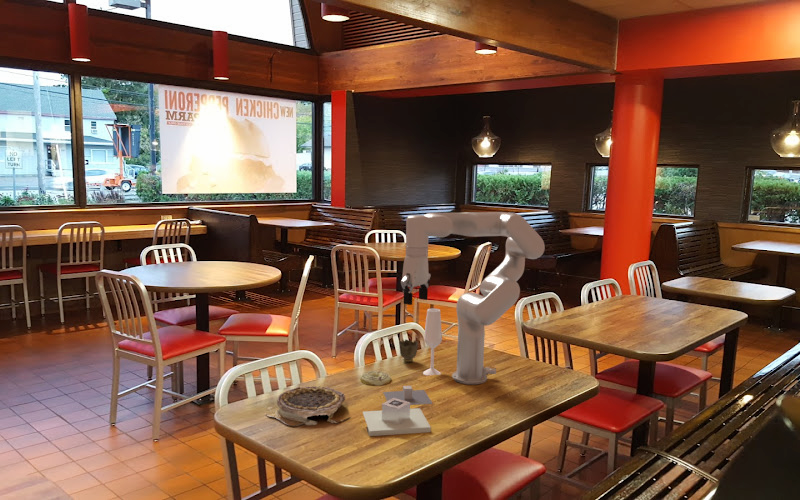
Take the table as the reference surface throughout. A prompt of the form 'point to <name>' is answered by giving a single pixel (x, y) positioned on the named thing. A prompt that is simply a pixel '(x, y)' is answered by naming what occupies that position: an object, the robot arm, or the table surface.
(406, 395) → the rod stand
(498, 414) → the table surface
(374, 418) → the hub plate
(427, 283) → the robot arm
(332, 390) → the pie
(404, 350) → the cup
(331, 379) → the table surface
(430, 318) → the champagne flute
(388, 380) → the decorated donut
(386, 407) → the collar
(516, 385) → the table surface
